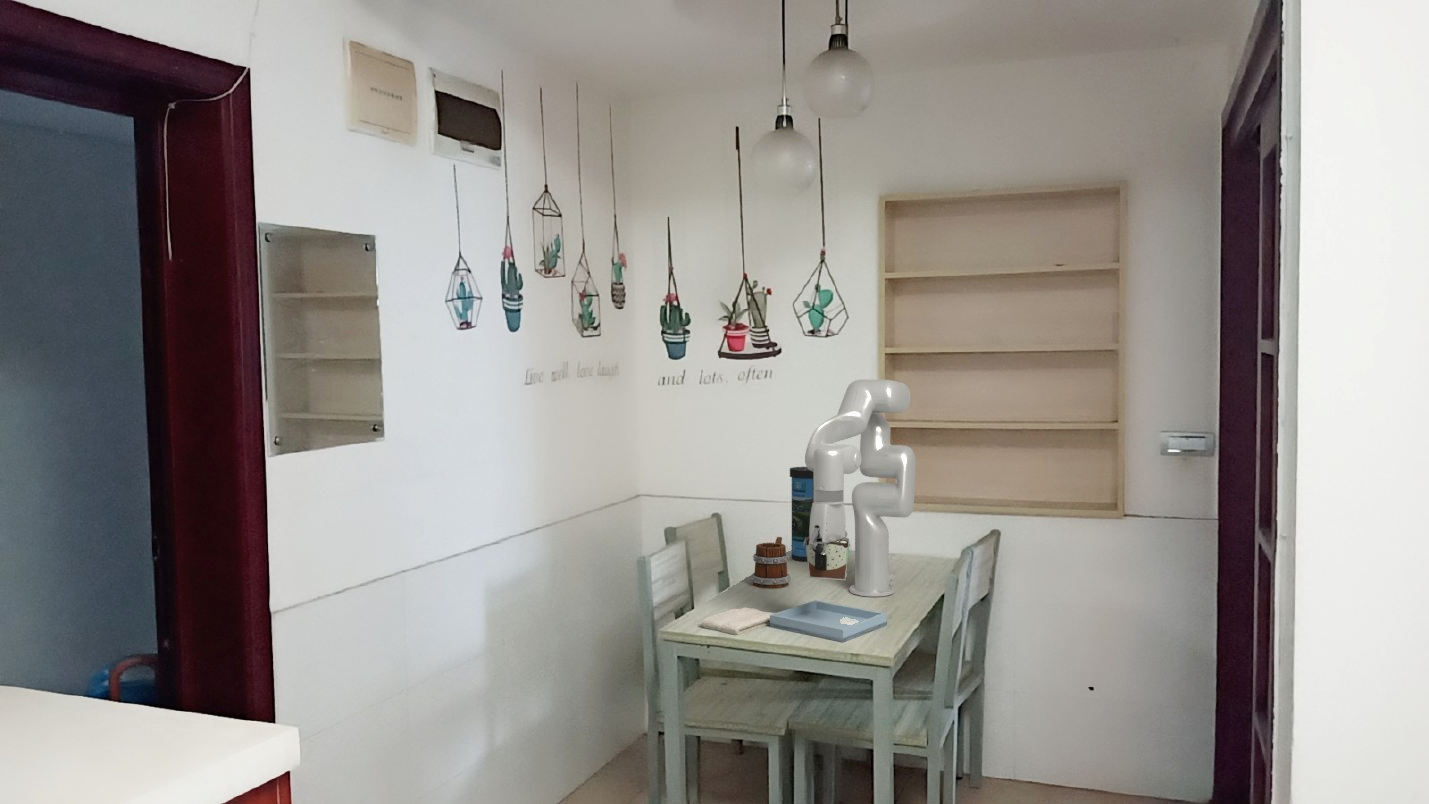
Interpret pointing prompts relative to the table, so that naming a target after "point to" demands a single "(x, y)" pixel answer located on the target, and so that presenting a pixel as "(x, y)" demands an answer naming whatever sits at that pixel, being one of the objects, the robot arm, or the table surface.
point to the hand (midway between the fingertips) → (828, 567)
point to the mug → (771, 565)
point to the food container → (830, 559)
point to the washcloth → (737, 620)
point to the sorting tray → (828, 620)
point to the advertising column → (801, 509)
